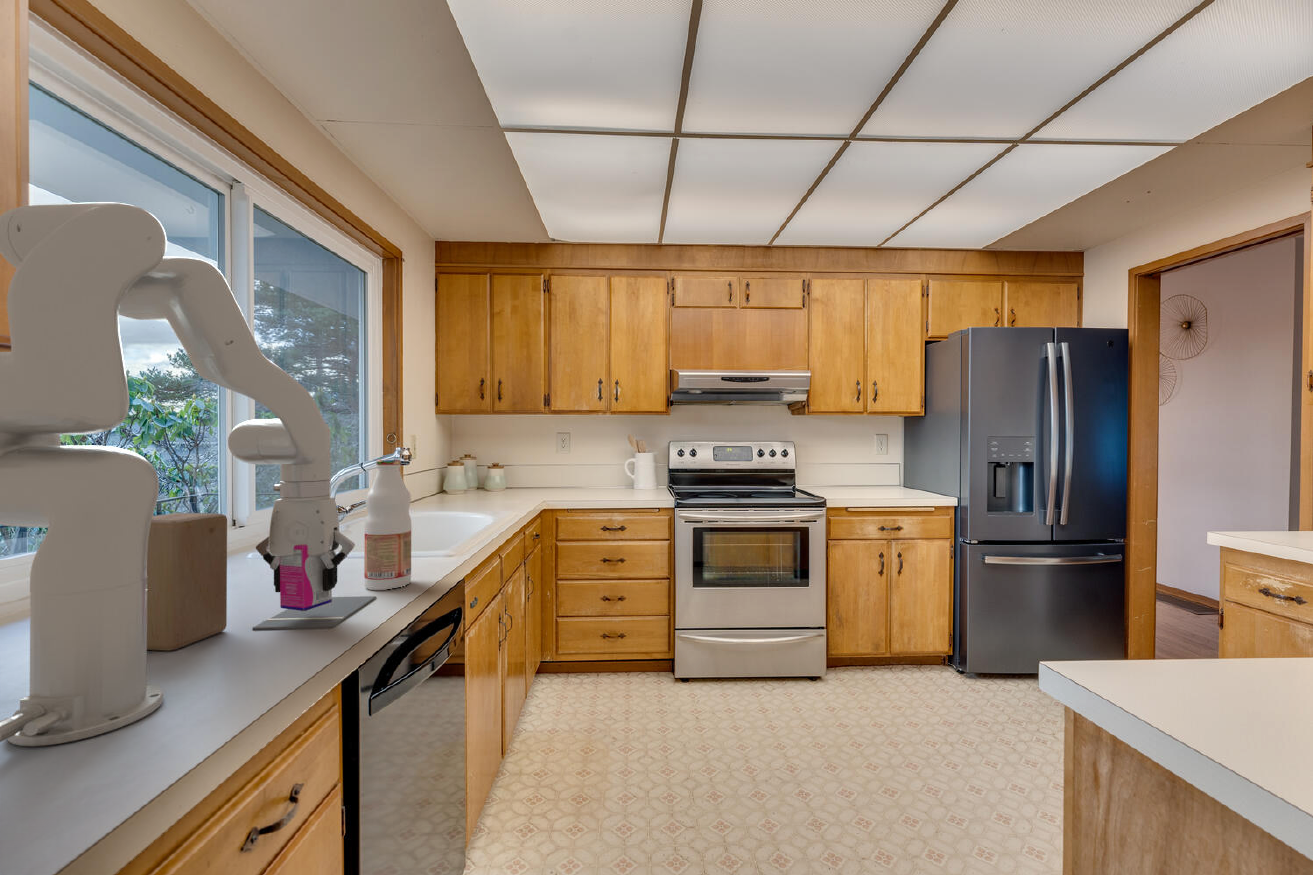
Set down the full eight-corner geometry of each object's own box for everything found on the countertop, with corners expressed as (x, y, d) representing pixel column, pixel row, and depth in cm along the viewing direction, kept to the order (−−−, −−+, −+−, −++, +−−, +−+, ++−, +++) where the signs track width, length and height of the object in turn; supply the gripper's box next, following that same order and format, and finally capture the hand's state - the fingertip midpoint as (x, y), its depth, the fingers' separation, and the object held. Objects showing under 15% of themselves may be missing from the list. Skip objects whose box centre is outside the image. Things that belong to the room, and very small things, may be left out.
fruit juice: (374, 593, 116) (375, 460, 116) (357, 585, 122) (357, 459, 123) (418, 585, 123) (419, 459, 123) (400, 578, 130) (400, 458, 130)
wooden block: (229, 630, 94) (230, 512, 94) (172, 653, 84) (173, 521, 84) (176, 628, 95) (176, 511, 95) (113, 650, 85) (114, 520, 85)
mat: (332, 627, 95) (332, 624, 95) (252, 629, 94) (252, 626, 94) (376, 598, 113) (376, 595, 113) (309, 599, 112) (309, 597, 112)
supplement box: (308, 599, 102) (308, 537, 102) (332, 602, 101) (333, 539, 101) (278, 608, 97) (278, 543, 97) (303, 611, 95) (303, 545, 95)
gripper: (240, 493, 94) (240, 596, 94) (346, 492, 96) (346, 594, 96) (267, 489, 102) (267, 585, 102) (365, 488, 103) (365, 583, 103)
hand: (305, 589), depth 99 cm, fingers closed on supplement box, 7 cm apart
